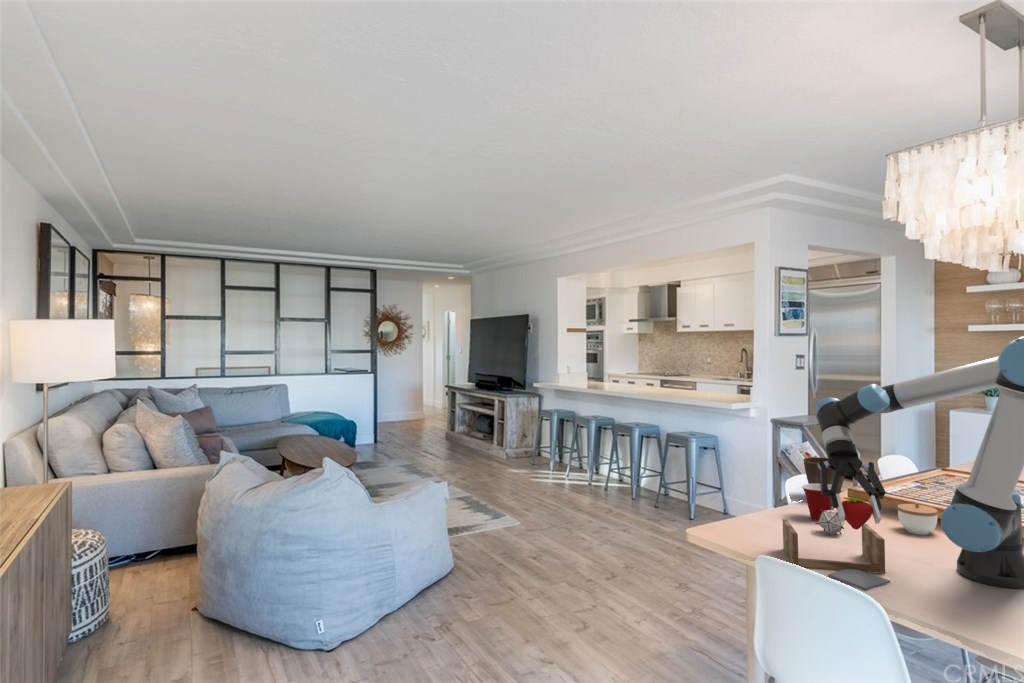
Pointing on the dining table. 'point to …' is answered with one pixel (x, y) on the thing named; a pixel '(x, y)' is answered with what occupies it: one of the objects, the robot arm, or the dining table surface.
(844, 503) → the strawberry
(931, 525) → the lidded jar
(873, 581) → the pad
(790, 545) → the wooden crossbar stand
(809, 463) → the plant pot
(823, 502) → the plastic cup
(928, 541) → the dining table surface
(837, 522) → the game die
